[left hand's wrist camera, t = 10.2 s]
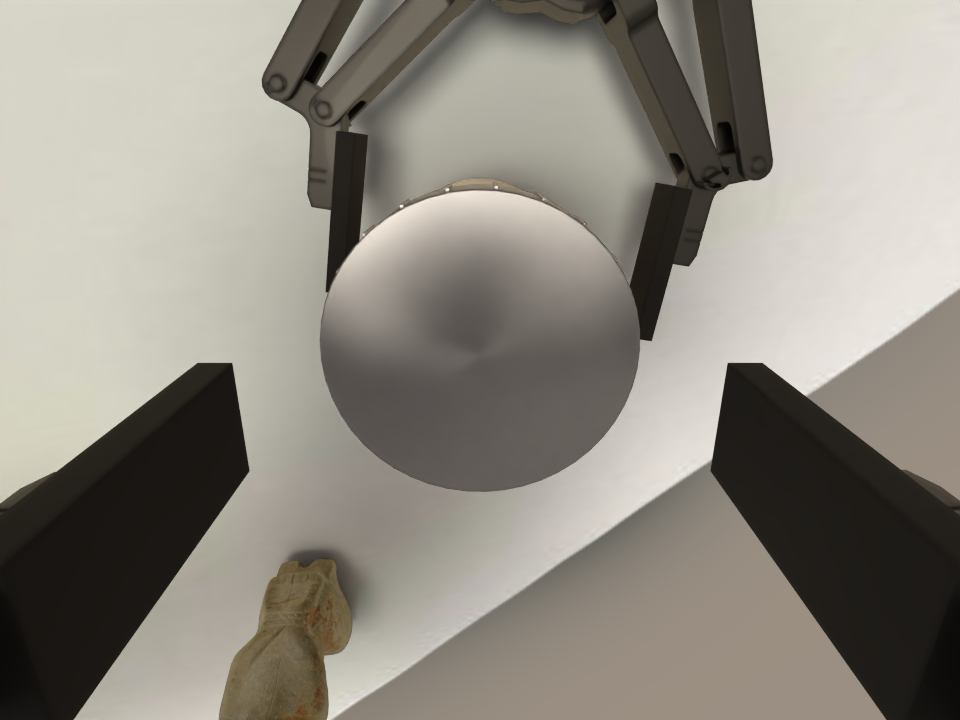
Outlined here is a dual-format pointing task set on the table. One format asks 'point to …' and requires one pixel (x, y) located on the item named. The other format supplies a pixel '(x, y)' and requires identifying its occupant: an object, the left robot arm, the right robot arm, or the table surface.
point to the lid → (480, 338)
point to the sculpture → (290, 647)
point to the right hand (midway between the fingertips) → (490, 309)
